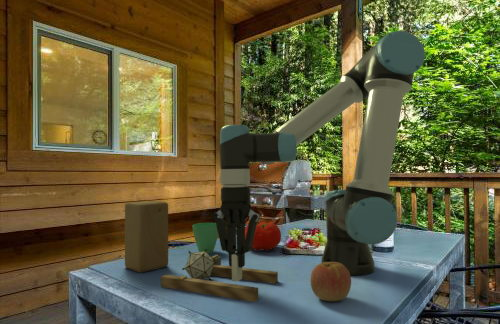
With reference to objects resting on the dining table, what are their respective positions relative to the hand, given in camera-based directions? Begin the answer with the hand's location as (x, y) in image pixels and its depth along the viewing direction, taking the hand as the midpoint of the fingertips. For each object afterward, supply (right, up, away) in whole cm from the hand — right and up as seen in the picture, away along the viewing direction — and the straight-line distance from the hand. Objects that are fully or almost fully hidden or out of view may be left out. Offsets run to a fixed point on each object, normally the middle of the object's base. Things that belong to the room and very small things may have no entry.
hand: (237, 279), depth 82 cm
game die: (-10, -2, +5) cm, 11 cm away
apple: (+21, -1, -9) cm, 23 cm away
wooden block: (-29, -3, +18) cm, 34 cm away
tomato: (+8, -4, +41) cm, 42 cm away
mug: (-14, -4, +39) cm, 41 cm away
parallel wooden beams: (-4, -2, +3) cm, 5 cm away
